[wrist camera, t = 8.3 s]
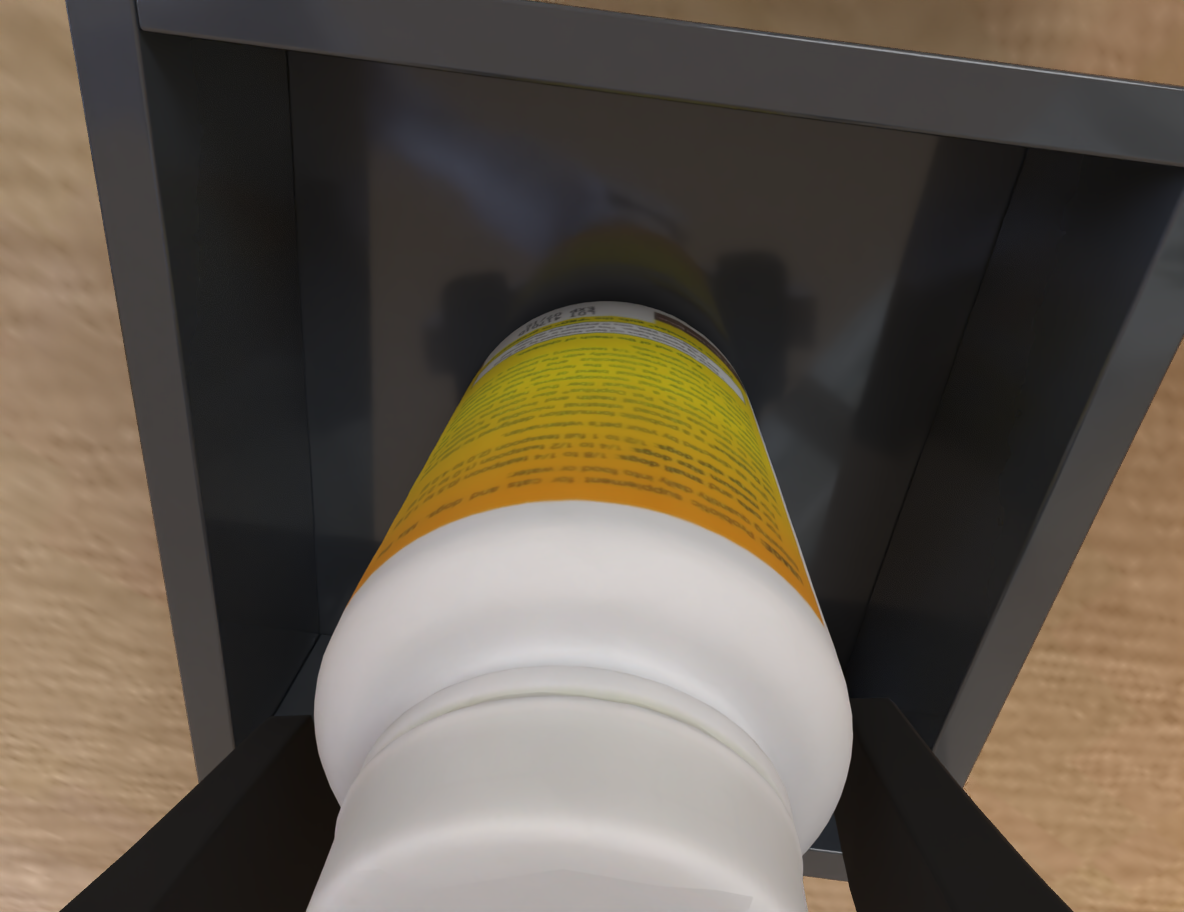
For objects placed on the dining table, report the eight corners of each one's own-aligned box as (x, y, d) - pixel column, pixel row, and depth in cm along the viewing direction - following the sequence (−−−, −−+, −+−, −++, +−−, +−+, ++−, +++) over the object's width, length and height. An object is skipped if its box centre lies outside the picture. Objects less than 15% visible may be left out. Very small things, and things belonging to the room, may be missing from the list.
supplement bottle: (426, 332, 14) (22, 801, 5) (721, 257, 13) (912, 661, 4) (515, 573, 16) (357, 1198, 7) (772, 525, 15) (965, 1169, 6)
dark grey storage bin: (302, 632, 18) (199, 799, 14) (255, -11, 12) (51, -63, 8) (850, 704, 18) (914, 892, 14) (1072, 95, 12) (1302, 101, 8)
